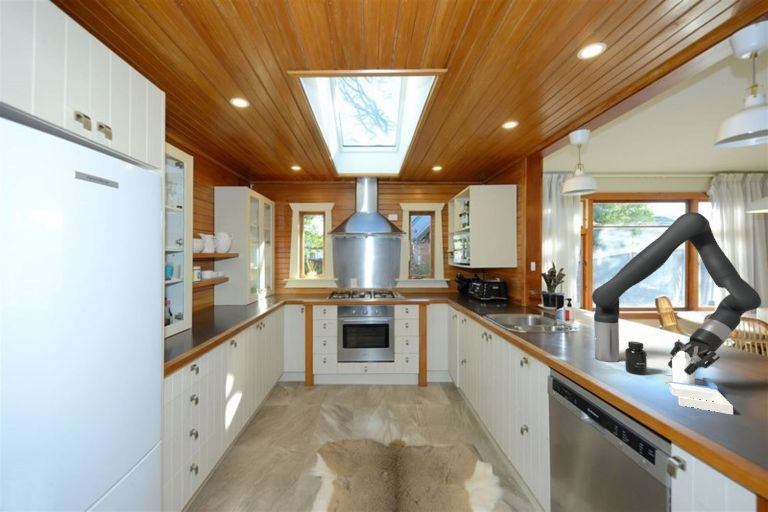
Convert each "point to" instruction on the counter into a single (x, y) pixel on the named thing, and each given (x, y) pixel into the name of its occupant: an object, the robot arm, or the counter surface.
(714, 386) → the white rail frame
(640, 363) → the supplement bottle
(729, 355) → the counter surface
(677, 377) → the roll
